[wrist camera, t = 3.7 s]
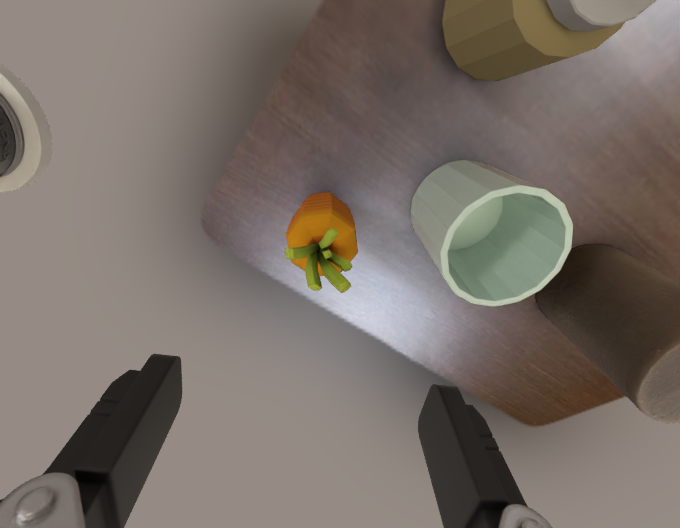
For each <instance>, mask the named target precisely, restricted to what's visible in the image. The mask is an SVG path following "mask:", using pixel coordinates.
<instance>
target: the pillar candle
mask: <svg viewBox="0 0 680 528" xmlns="http://www.w3.org/2000/svg"><path fill="white" fill-rule="evenodd" d="M536 300H537V304H538V306H539V308H540V310H541V311H542V313H543V314H544V315H545V316H546V317H547V318H548V319H549V320H550V321H551V322H552V323H553V324H554V325H555V326H556V327H557V328H558V329H559V330H560V331H561V332H562V333H563V334H564V335H565V336H566V337H567V338H568V339H569V340H570V341H571V342H572V343H573V344H574V345H575V346H576V347H577V348H578V349H579V350H580V351H581V352H582V353H583V354H584V355H585V356H586V357H587V358H588V359H589V360H590V361H591V362H592V363H593V364H594V365H595V366H596V367H597V368H598V369H599V370H600V371H601V372H602V373H603V374H604V375H605V376H606V377H607V378H608V379H609V380H610V381H611V382H612V383H613V384H614V385H615V386H616V387H617V388H618V389H619V390H620V391H621V392H622V393H623V394H624V395H625V396H626V397H628V398H629V399H630V400H631V401H632V402H633V403H634V404H635V405H636V406H637V408H639V410H640V411H641V412H643V413H644V414H645V415H647V416H648V417H650V418H652V419H653V420H656V421H660V422H664V423H680V282H678V281H676V280H674V279H672V278H671V277H669V276H667V275H665V274H663V273H661V272H659V271H657V270H655V269H653V268H652V267H650V266H648V265H646V264H644V263H643V262H641V261H639V260H637V259H636V258H634V257H631V256H630V255H628V254H626V253H625V252H623V251H621V250H620V249H618V248H615V247H612V246H607V245H600V244H591V245H584V246H580V247H577V248H575V249H572V250H570V252H569V254H568V256H567V258H566V260H565V262H564V264H563V266H562V268H561V270H560V271H559V272H558V273H557V274H556V275H555V276H554V277H553V278H552V279H551V280H550V281H549V282H548V283H547V284H546V285H545V286H544V287H543V288H542V289H541V290H540V291H538V292H536Z"/></svg>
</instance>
